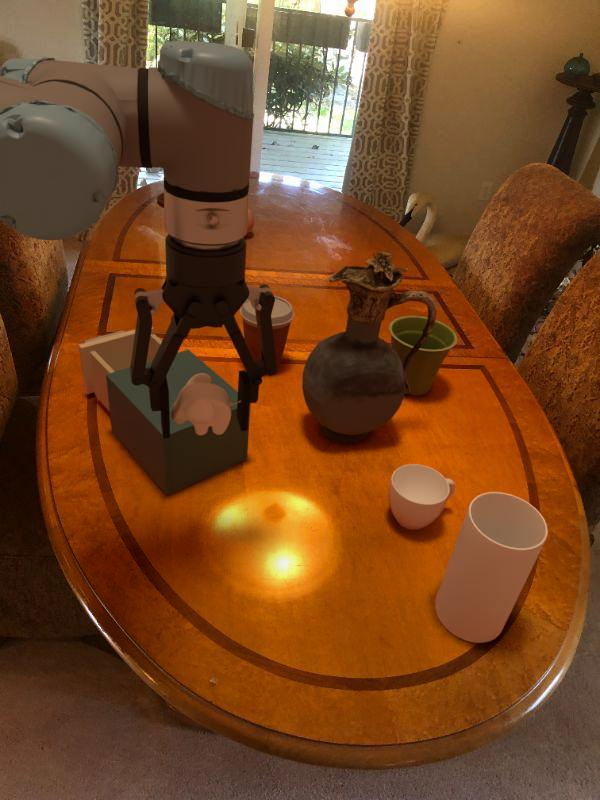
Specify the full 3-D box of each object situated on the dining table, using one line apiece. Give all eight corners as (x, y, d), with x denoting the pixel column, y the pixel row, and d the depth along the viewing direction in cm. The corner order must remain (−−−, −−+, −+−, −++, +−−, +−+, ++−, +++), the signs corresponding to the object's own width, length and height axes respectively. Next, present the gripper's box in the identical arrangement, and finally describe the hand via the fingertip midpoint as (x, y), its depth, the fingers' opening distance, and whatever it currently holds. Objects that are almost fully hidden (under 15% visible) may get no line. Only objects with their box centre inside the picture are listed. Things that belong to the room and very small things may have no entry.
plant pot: (368, 389, 110) (378, 335, 104) (391, 361, 119) (402, 309, 113) (430, 412, 106) (446, 357, 100) (450, 381, 115) (465, 328, 109)
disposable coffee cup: (296, 374, 112) (303, 315, 105) (247, 381, 109) (250, 321, 102) (278, 347, 119) (283, 291, 112) (231, 353, 116) (233, 296, 109)
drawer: (71, 375, 104) (64, 329, 99) (138, 355, 111) (135, 311, 106) (128, 442, 91) (124, 393, 86) (200, 415, 98) (200, 368, 93)
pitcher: (290, 412, 103) (309, 240, 85) (396, 405, 107) (435, 240, 90) (306, 455, 94) (331, 273, 77) (421, 445, 99) (469, 271, 81)
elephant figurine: (169, 410, 73) (167, 368, 69) (237, 409, 74) (239, 367, 71) (169, 448, 67) (167, 404, 64) (242, 445, 69) (244, 403, 65)
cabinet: (111, 432, 94) (105, 374, 88) (188, 404, 102) (188, 349, 96) (166, 496, 84) (163, 436, 78) (247, 460, 92) (250, 402, 86)
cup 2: (423, 616, 73) (456, 523, 63) (451, 572, 78) (485, 480, 69) (489, 656, 69) (534, 563, 60) (513, 607, 75) (557, 515, 66)
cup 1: (372, 506, 87) (380, 470, 83) (431, 490, 91) (441, 455, 87) (401, 546, 81) (411, 510, 77) (462, 527, 85) (475, 492, 81)
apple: (247, 229, 168) (249, 200, 164) (257, 240, 163) (259, 210, 158) (219, 231, 165) (220, 201, 161) (228, 242, 160) (229, 211, 155)
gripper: (88, 253, 51) (110, 458, 65) (324, 249, 57) (300, 438, 70) (88, 220, 57) (108, 415, 70) (303, 220, 63) (284, 400, 76)
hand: (204, 426), depth 70 cm, fingers closed on elephant figurine, 8 cm apart
